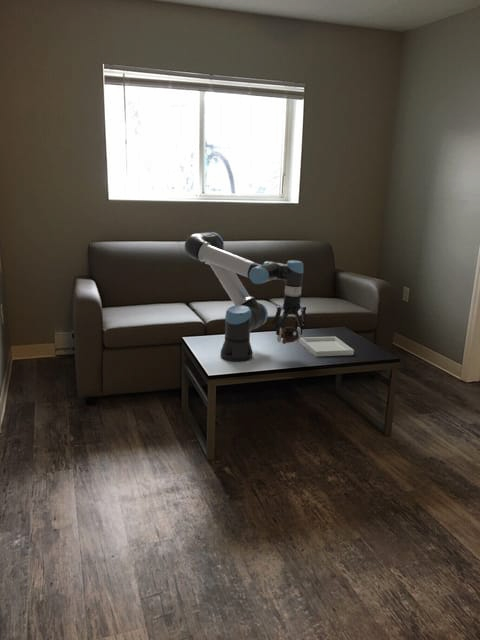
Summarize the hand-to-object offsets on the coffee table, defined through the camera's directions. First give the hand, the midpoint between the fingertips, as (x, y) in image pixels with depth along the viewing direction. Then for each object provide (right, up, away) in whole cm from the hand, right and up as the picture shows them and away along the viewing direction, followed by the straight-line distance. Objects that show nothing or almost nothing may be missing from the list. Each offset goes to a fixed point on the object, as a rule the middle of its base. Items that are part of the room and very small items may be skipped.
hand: (288, 341), depth 241 cm
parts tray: (+21, -4, +18) cm, 28 cm away
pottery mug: (-1, 0, +1) cm, 1 cm away
